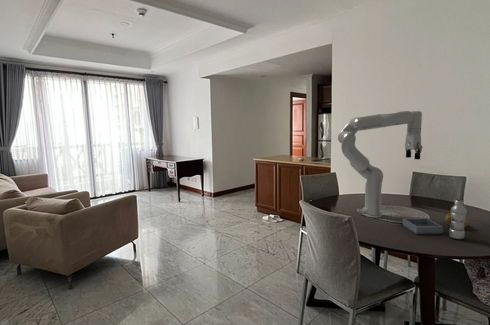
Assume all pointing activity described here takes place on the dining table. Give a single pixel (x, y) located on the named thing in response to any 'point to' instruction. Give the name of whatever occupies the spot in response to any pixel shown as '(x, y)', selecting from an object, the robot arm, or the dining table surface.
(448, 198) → the dining table surface
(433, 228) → the tray
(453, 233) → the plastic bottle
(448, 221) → the bread roll
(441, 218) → the dining table surface
